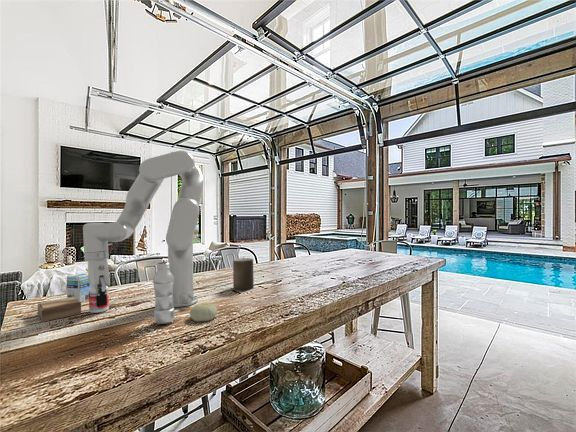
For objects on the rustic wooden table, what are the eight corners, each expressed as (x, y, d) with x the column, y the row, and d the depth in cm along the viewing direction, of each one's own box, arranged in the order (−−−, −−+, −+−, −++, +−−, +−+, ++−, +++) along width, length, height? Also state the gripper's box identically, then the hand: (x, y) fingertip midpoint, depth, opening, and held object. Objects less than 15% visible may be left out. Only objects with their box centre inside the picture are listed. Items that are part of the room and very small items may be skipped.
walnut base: (81, 313, 106) (80, 301, 106) (42, 321, 98) (41, 309, 98) (74, 306, 114) (74, 296, 114) (37, 314, 106) (37, 302, 106)
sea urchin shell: (223, 308, 104) (214, 297, 99) (215, 330, 99) (205, 319, 93) (202, 306, 107) (192, 295, 102) (193, 327, 102) (181, 316, 96)
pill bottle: (87, 314, 104) (85, 283, 104) (92, 309, 110) (90, 280, 110) (107, 311, 107) (105, 281, 106) (110, 306, 112) (109, 278, 112)
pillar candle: (252, 290, 134) (251, 258, 134) (231, 290, 135) (230, 258, 135) (254, 285, 144) (254, 255, 144) (235, 285, 144) (235, 255, 144)
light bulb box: (79, 302, 119) (79, 276, 119) (66, 302, 121) (65, 276, 120) (101, 295, 130) (100, 271, 130) (88, 294, 131) (88, 271, 131)
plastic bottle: (162, 328, 92) (160, 265, 92) (149, 323, 95) (148, 263, 95) (179, 321, 97) (178, 262, 97) (166, 317, 101) (165, 260, 101)
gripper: (115, 256, 105) (117, 305, 105) (101, 252, 116) (103, 297, 117) (91, 259, 99) (93, 311, 100) (79, 255, 111) (81, 301, 111)
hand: (99, 303), depth 108 cm, fingers closed on pill bottle, 6 cm apart
